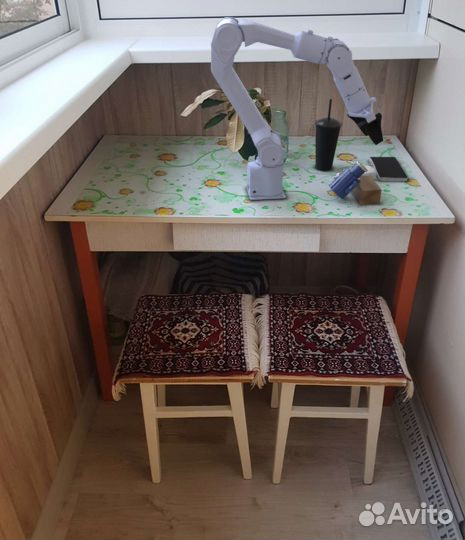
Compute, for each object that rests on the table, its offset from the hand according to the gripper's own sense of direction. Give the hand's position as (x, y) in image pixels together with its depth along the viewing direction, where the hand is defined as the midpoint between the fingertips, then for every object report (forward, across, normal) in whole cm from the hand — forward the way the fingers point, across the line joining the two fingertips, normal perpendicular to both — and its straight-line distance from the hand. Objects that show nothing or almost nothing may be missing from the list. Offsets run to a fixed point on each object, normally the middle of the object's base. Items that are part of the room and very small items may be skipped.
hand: (374, 138), depth 126 cm
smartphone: (+18, +15, -2) cm, 24 cm away
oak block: (+13, -1, +8) cm, 15 cm away
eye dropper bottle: (+14, +11, +2) cm, 17 cm away
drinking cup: (+9, +19, +13) cm, 25 cm away
